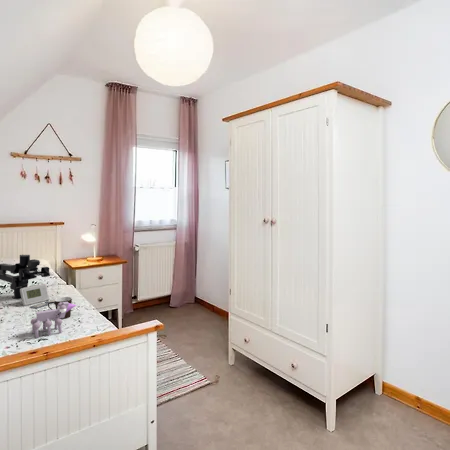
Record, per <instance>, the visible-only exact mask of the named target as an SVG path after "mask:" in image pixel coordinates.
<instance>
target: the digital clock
mask: <svg viewBox="0 0 450 450" xmlns="http://www.w3.org/2000/svg"><path fill="white" fill-rule="evenodd" d="M20 294H21V298H20V300H21V304H22V306H23V307H26V306H31V305H32V306H33V305H37V304H40V303H45V302H47V301H50V294H49V291H48V286H47V284H46V283H40V284H35V285H30V286H27V287H25V288H21V289H20Z"/></svg>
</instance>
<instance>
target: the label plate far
mask: <svg viewBox="0 0 450 450" xmlns="http://www.w3.org/2000/svg"><path fill="white" fill-rule="evenodd" d="M55 299H56V298H54V299H51V300H50V299H49V300H47V301H44V304H48V303H50V302H55V301H54V300H55ZM52 304H54V303H50V304H49V305H52Z"/></svg>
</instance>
